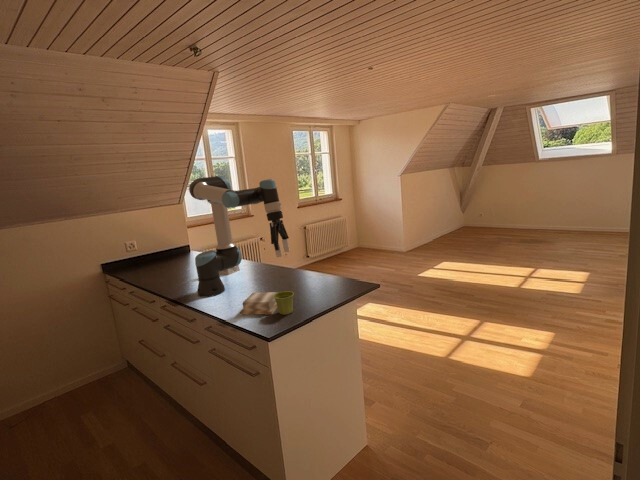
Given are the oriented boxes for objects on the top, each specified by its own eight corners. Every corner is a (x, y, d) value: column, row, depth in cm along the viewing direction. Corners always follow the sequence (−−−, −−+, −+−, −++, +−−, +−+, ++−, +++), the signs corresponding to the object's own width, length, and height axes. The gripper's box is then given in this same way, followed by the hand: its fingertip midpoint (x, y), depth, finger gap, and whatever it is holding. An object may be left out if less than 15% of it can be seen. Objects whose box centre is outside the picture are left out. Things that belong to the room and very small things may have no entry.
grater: (239, 270, 250) (235, 242, 246) (228, 274, 242) (223, 245, 238) (229, 269, 256) (224, 241, 252) (217, 273, 247) (213, 245, 243)
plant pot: (276, 309, 172) (273, 292, 170) (295, 307, 173) (293, 290, 171) (275, 317, 163) (272, 299, 161) (296, 315, 163) (294, 296, 162)
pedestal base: (240, 314, 170) (238, 303, 169) (252, 302, 186) (251, 291, 185) (272, 314, 167) (270, 303, 166) (282, 301, 182) (281, 290, 181)
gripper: (273, 211, 162) (283, 257, 164) (288, 208, 186) (297, 248, 188) (257, 214, 163) (268, 260, 165) (274, 211, 188) (283, 251, 190)
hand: (283, 254), depth 177 cm, fingers open, 13 cm apart
